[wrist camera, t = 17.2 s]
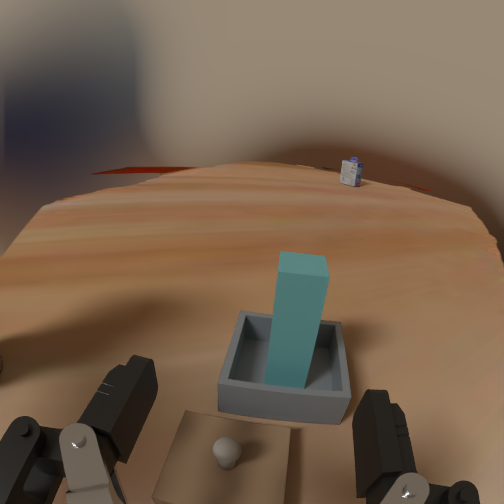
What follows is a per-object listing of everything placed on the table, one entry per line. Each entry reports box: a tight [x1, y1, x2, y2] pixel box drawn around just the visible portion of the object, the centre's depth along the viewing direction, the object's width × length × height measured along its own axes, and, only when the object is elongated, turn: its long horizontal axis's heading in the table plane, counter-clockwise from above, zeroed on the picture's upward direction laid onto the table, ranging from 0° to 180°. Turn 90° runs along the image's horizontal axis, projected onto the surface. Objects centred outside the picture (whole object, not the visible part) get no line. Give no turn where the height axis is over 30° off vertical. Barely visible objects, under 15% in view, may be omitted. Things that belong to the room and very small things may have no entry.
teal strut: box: [264, 251, 329, 389], centre depth 31 cm, size 4×4×14 cm
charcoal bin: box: [218, 311, 351, 425], centre depth 33 cm, size 13×13×4 cm
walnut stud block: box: [152, 411, 291, 504], centre depth 21 cm, size 10×10×6 cm
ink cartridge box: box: [340, 157, 363, 187], centre depth 151 cm, size 10×6×14 cm, turn 38°
